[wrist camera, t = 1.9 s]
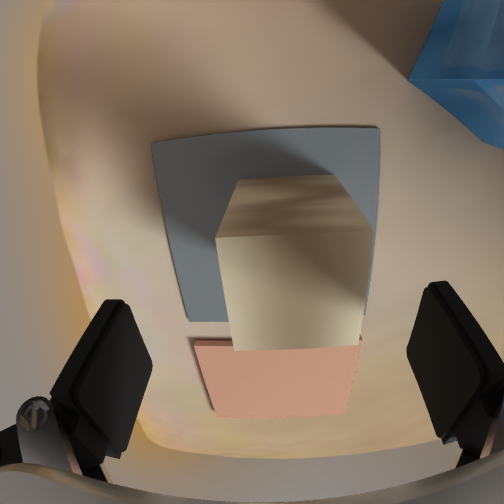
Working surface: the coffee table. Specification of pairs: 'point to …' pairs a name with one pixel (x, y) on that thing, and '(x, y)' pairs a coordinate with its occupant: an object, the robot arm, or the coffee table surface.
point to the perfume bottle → (467, 65)
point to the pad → (277, 379)
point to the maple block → (294, 263)
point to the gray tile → (248, 167)
